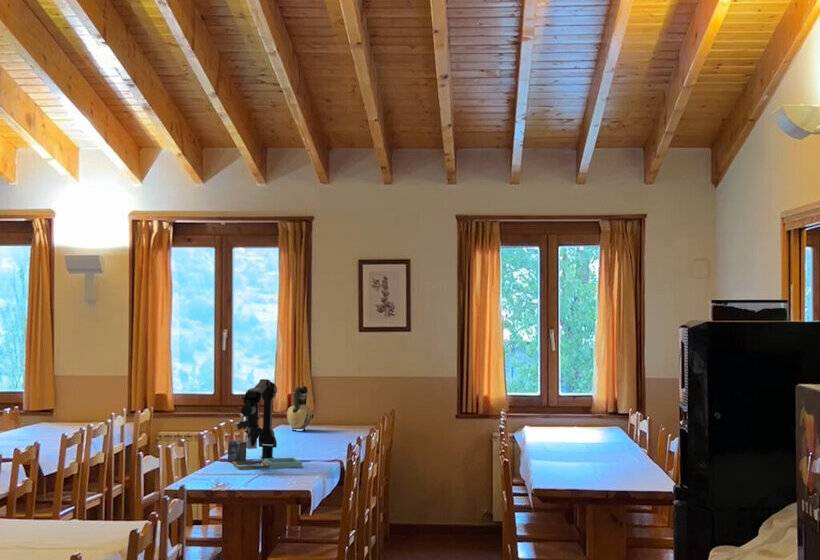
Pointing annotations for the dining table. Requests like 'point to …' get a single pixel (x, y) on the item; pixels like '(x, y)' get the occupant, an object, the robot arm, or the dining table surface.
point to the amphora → (299, 410)
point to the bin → (282, 462)
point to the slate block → (248, 444)
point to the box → (236, 451)
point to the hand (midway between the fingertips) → (251, 445)
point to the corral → (249, 463)
